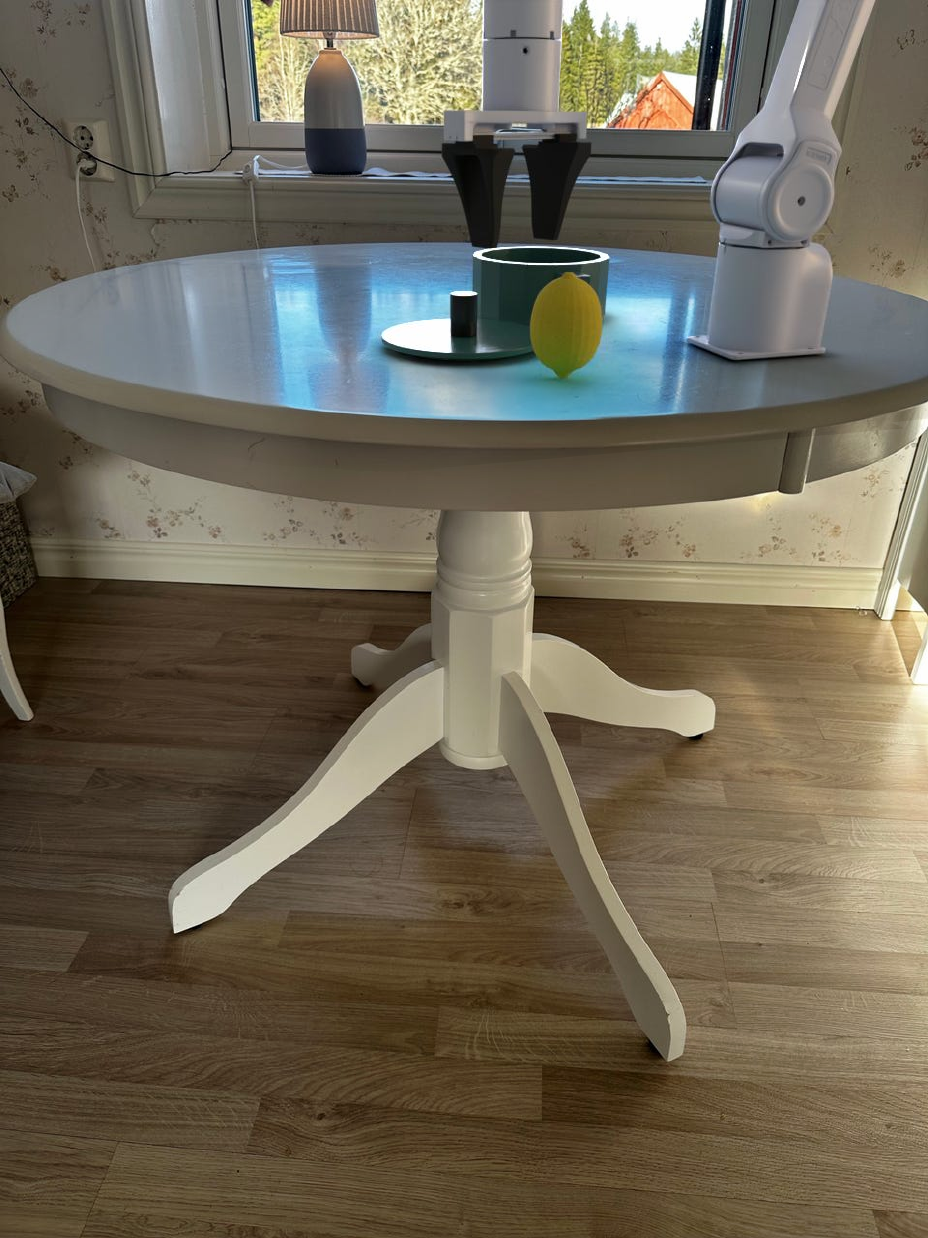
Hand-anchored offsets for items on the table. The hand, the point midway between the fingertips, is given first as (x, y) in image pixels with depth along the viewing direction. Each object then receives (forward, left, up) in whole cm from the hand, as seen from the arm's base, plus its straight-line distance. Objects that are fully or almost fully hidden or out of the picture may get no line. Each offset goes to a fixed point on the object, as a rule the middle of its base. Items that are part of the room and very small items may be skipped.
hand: (515, 243), depth 73 cm
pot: (-10, -19, -9) cm, 23 cm away
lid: (+2, -7, -9) cm, 11 cm away
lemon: (-2, +6, -10) cm, 12 cm away
